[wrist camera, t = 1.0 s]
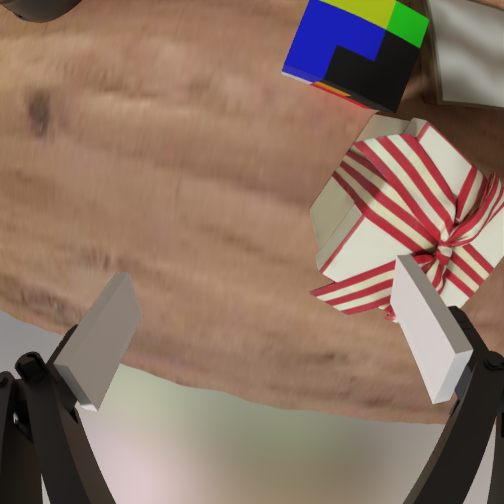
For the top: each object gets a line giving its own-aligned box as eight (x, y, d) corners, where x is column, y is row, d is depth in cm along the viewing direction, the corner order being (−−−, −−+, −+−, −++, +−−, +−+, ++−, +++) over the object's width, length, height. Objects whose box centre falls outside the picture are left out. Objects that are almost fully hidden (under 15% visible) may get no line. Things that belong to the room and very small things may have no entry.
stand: (408, -5, 24) (422, -13, 21) (495, 15, 23) (512, 11, 19) (424, 102, 31) (439, 104, 27) (507, 111, 29) (524, 114, 25)
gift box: (342, 92, 31) (400, 90, 16) (459, 172, 34) (546, 224, 19) (275, 218, 39) (276, 304, 23) (393, 276, 41) (440, 366, 26)
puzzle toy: (280, 73, 31) (284, 64, 22) (310, -1, 26) (322, -32, 18) (364, 108, 32) (395, 112, 23) (391, 35, 27) (429, 19, 19)
